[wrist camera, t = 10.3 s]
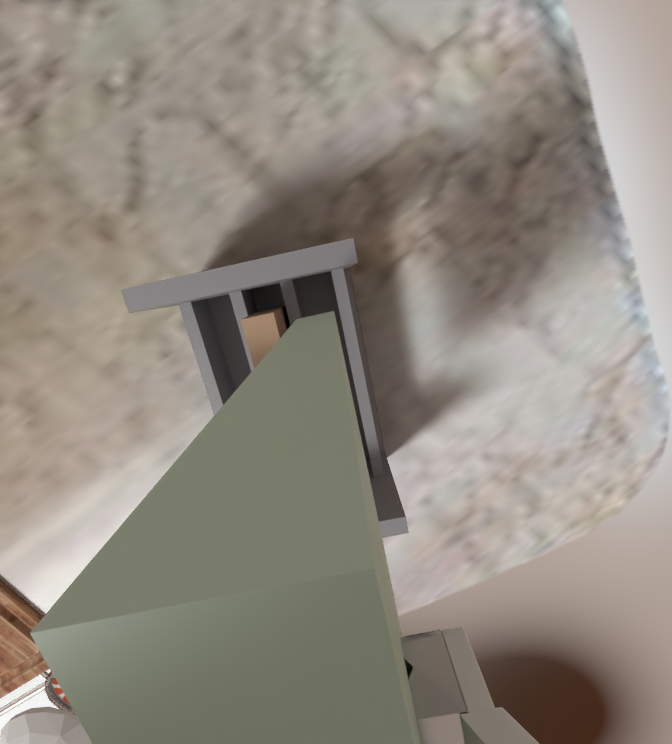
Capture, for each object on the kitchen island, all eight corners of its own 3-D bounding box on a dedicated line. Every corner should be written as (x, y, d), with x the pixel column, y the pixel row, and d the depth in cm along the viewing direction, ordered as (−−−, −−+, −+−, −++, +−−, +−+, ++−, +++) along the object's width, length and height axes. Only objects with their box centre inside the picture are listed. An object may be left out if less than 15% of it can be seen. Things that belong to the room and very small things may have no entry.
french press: (133, 553, 41) (-152, 951, 17) (205, 612, 43) (47, 1035, 19) (78, 597, 42) (-257, 1022, 18) (150, 652, 45) (-60, 1091, 20)
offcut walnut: (261, 310, 32) (240, 319, 25) (286, 304, 32) (273, 312, 25) (280, 380, 34) (266, 410, 26) (304, 375, 34) (296, 404, 26)
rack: (190, 286, 33) (120, 289, 22) (344, 251, 33) (353, 237, 22) (252, 485, 39) (221, 568, 28) (385, 459, 38) (408, 532, 27)
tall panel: (296, 319, 22) (29, 632, 2) (334, 310, 22) (374, 568, 2) (342, 509, 25) (384, 1258, 6) (374, 502, 25) (525, 1240, 6)
